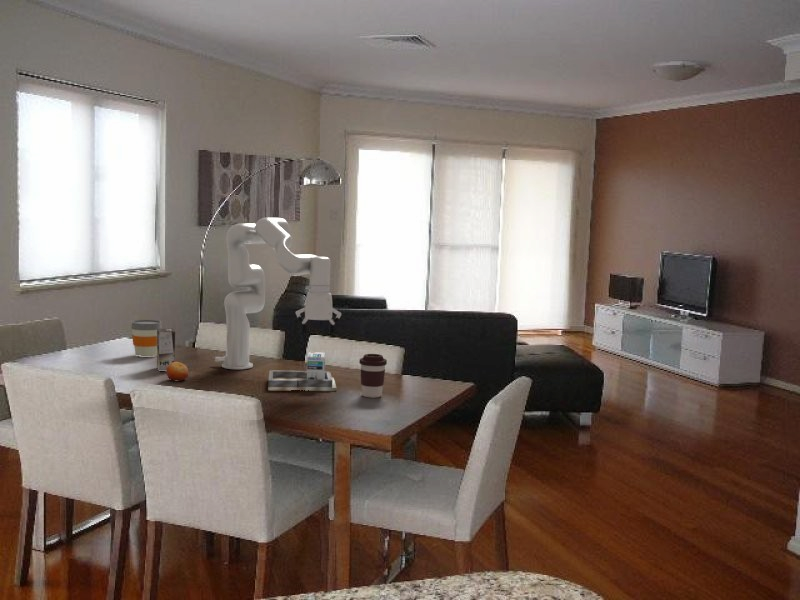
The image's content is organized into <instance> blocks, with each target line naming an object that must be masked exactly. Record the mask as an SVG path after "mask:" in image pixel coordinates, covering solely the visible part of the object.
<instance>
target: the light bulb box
mask: <svg viewBox="0 0 800 600" xmlns="http://www.w3.org/2000/svg"><path fill="white" fill-rule="evenodd" d="M306 357H307V359H306V362H307V365H306V366H307V367H306V371H307V379H318V380H325V372H326V352H320V351H319V352H318V351H317V352H315V351H308V353H307V356H306Z"/></svg>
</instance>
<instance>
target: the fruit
mask: <svg viewBox="0 0 800 600" xmlns="http://www.w3.org/2000/svg"><path fill="white" fill-rule="evenodd" d="M166 376H167V379H168V378H169V379H168V380H170V379H171V380H170V381H172V380H181V381H184V380H186V379H187V378H188V376H189V369H188V367H187V365H185V364H184V363H182V362H179V361H175V362H173V363H171V364H169V366H168V367H167V371H166ZM183 379H184V380H183Z"/></svg>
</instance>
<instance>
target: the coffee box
mask: <svg viewBox="0 0 800 600" xmlns="http://www.w3.org/2000/svg"><path fill="white" fill-rule="evenodd" d="M175 349H176V331H175V330H174V328H169V327H168V328H161V329H157V357H156V369H157V368H158V369H157V371H158V370H167V367H168V366H169V364H171V363H173V362H176V361H175V357H176V355H175V353H176V350H175Z"/></svg>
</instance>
